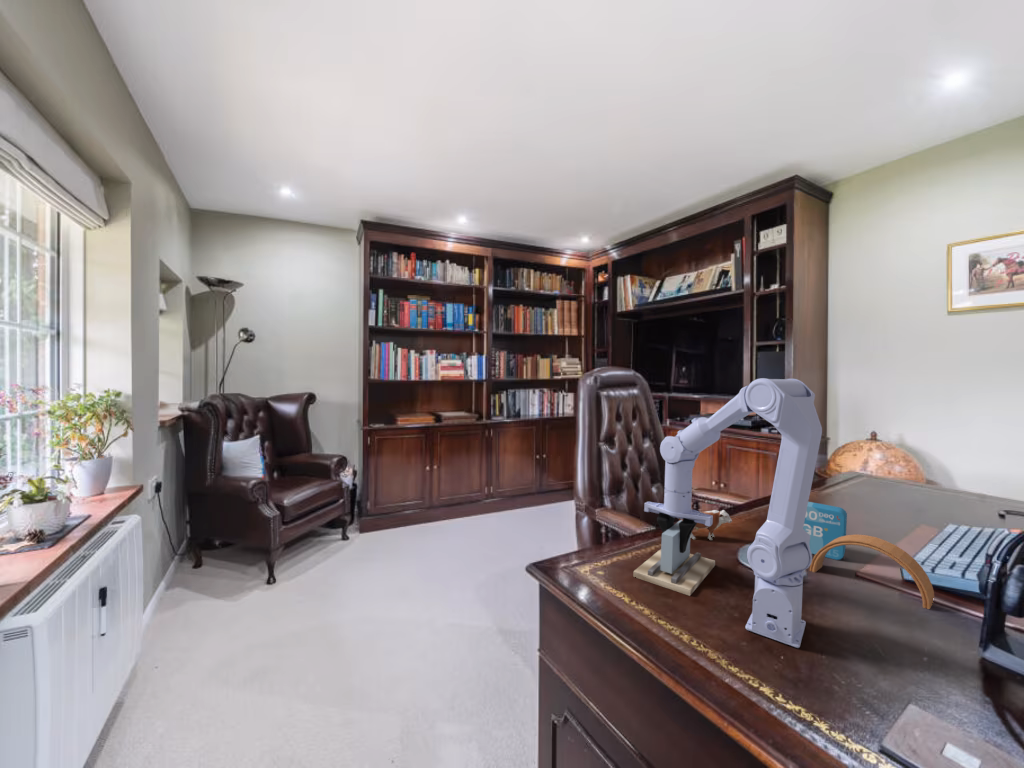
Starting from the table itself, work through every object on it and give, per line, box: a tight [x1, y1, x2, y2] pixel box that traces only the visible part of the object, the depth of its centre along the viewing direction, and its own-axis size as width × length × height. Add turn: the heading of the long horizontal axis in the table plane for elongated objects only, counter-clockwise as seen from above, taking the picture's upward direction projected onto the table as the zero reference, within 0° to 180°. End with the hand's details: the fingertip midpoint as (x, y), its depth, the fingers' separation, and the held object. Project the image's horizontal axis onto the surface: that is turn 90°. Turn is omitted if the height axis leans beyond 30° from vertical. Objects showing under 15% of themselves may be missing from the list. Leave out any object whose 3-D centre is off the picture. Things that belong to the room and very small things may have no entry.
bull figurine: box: [678, 509, 733, 541], centre depth 117 cm, size 4×13×8 cm, turn 78°
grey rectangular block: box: [660, 520, 691, 574], centre depth 98 cm, size 12×2×8 cm, turn 140°
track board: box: [632, 548, 716, 597], centre depth 98 cm, size 18×12×2 cm, turn 140°
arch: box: [809, 533, 935, 610], centre depth 93 cm, size 6×20×10 cm, turn 38°
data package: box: [803, 501, 848, 561], centre depth 110 cm, size 12×4×12 cm, turn 48°
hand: (675, 549), depth 97 cm, fingers closed on grey rectangular block, 2 cm apart
